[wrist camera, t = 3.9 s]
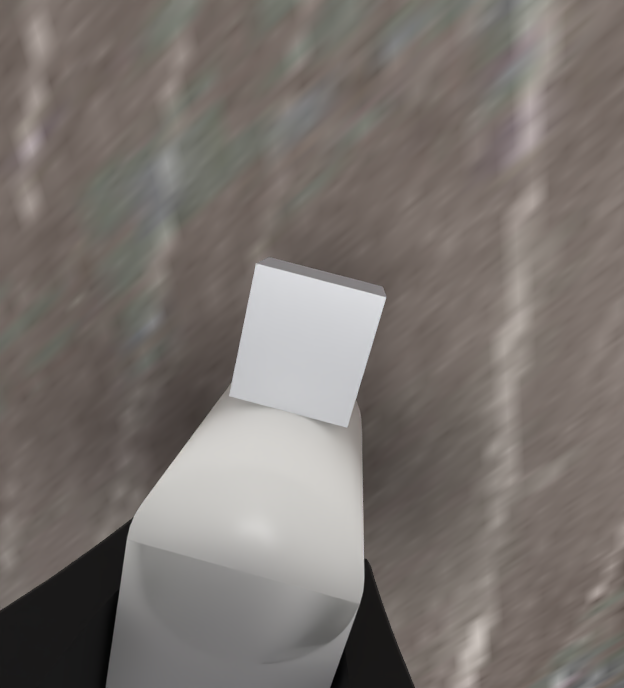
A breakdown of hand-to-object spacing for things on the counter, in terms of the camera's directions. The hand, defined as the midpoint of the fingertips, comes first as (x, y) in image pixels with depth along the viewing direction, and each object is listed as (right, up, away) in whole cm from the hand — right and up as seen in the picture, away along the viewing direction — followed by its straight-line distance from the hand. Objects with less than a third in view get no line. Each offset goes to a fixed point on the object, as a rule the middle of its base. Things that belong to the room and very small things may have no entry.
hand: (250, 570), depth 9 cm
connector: (0, +1, +1) cm, 2 cm away
